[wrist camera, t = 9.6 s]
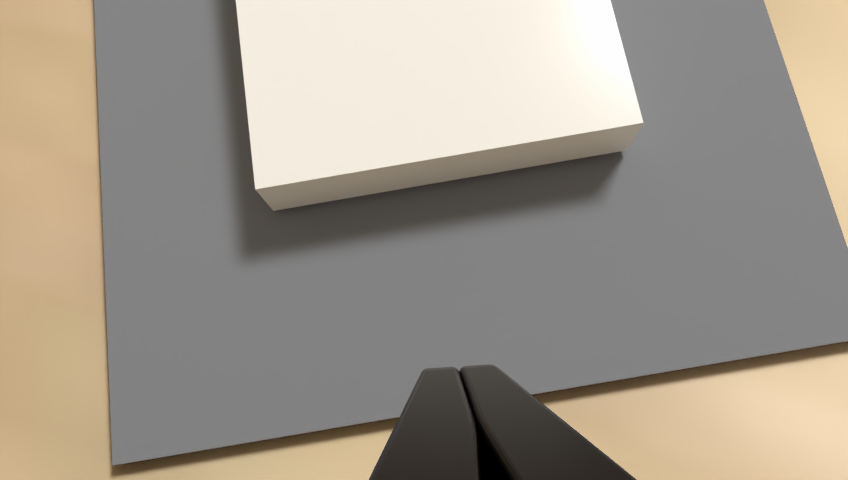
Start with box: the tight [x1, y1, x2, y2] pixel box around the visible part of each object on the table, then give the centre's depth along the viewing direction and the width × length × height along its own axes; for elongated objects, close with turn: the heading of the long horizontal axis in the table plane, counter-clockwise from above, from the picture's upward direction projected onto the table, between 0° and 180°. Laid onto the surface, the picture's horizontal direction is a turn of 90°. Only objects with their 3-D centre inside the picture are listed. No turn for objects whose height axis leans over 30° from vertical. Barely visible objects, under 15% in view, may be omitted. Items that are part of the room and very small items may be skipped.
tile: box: [236, 0, 643, 211], centre depth 20 cm, size 2×10×9 cm
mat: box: [94, 0, 848, 465], centre depth 21 cm, size 20×20×1 cm
